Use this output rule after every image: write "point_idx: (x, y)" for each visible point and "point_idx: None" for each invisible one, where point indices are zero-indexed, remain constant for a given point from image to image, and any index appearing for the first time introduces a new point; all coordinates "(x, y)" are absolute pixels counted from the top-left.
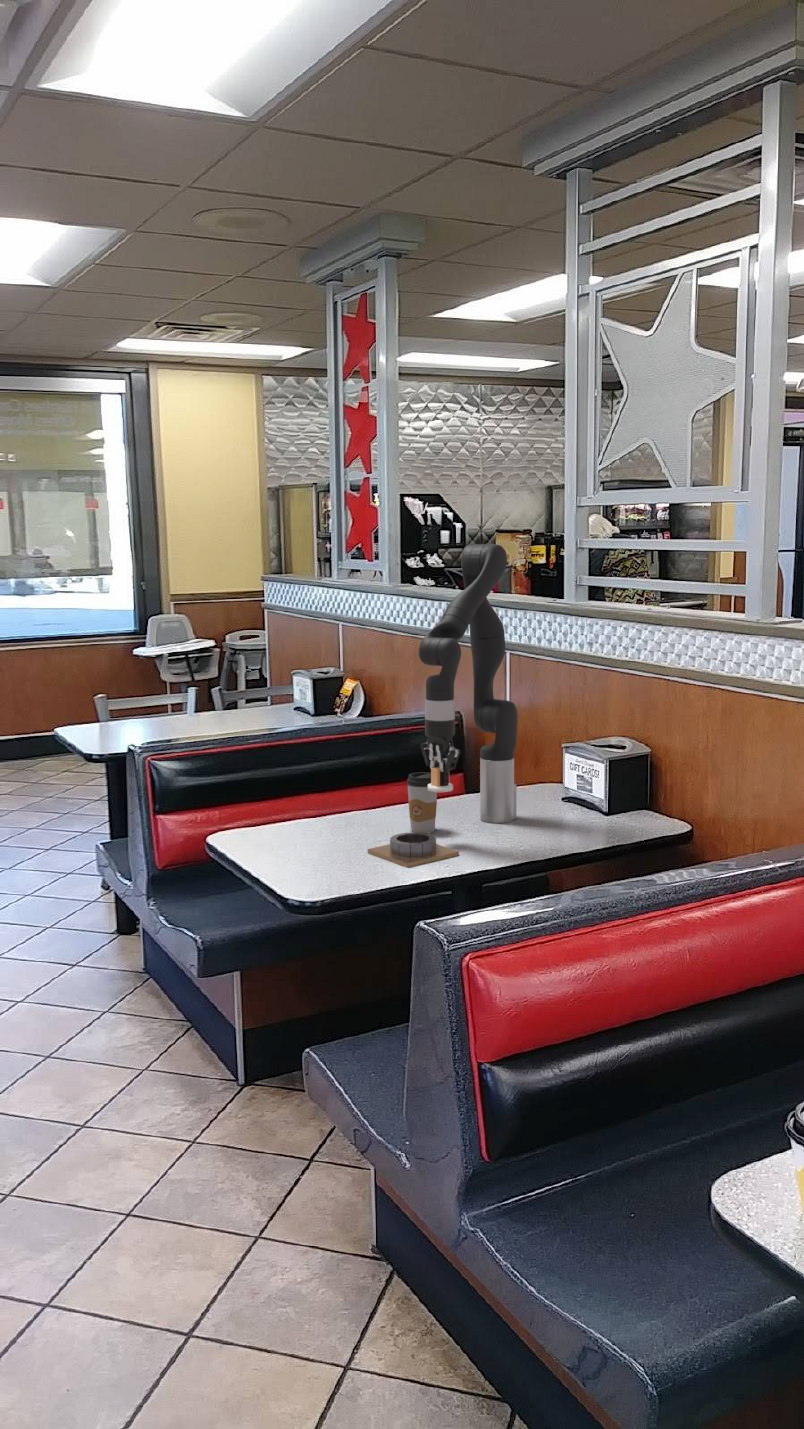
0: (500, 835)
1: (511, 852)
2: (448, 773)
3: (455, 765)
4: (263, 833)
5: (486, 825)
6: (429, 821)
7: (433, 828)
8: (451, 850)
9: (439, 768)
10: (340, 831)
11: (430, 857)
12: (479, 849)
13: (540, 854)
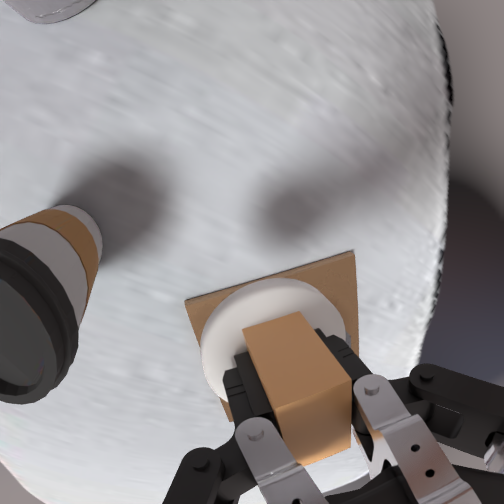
0: (234, 41)
1: (389, 121)
2: (369, 372)
3: (455, 374)
4: (48, 485)
5: (103, 26)
6: (97, 247)
7: (92, 219)
8: (338, 268)
9: (332, 436)
10: (41, 411)
11: (355, 330)
12: (333, 177)
13: (424, 80)
